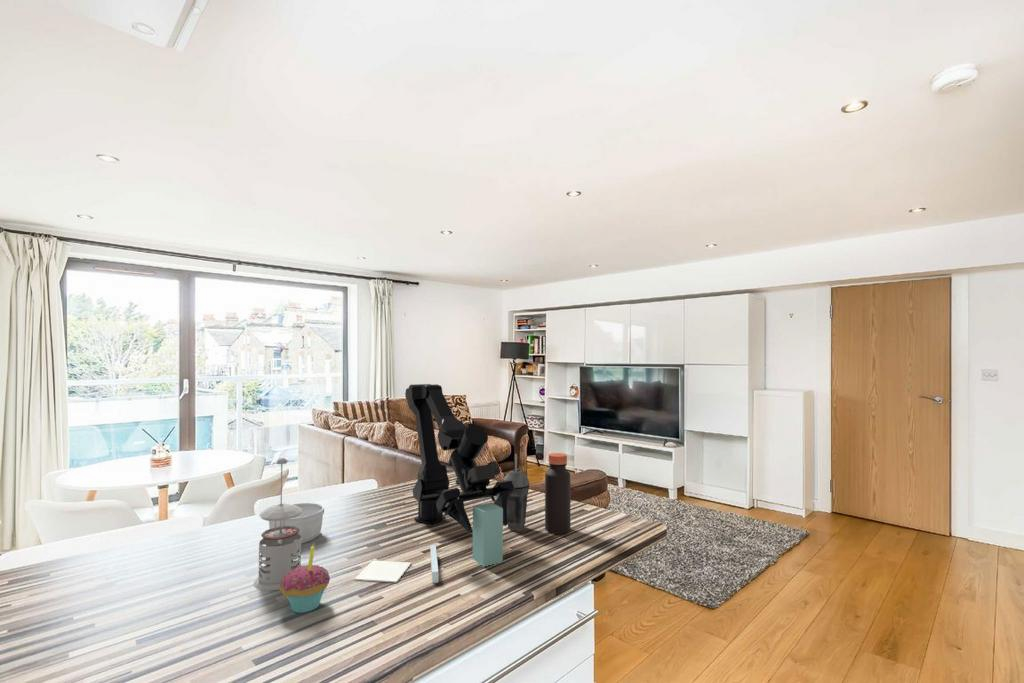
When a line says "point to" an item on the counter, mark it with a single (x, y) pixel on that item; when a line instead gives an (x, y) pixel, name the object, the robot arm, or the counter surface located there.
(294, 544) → the french press
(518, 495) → the beverage cup
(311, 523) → the ramekin
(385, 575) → the resting pad
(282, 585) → the cupcake
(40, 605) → the counter surface
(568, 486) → the bottle
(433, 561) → the acrylic strip
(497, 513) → the sage block
